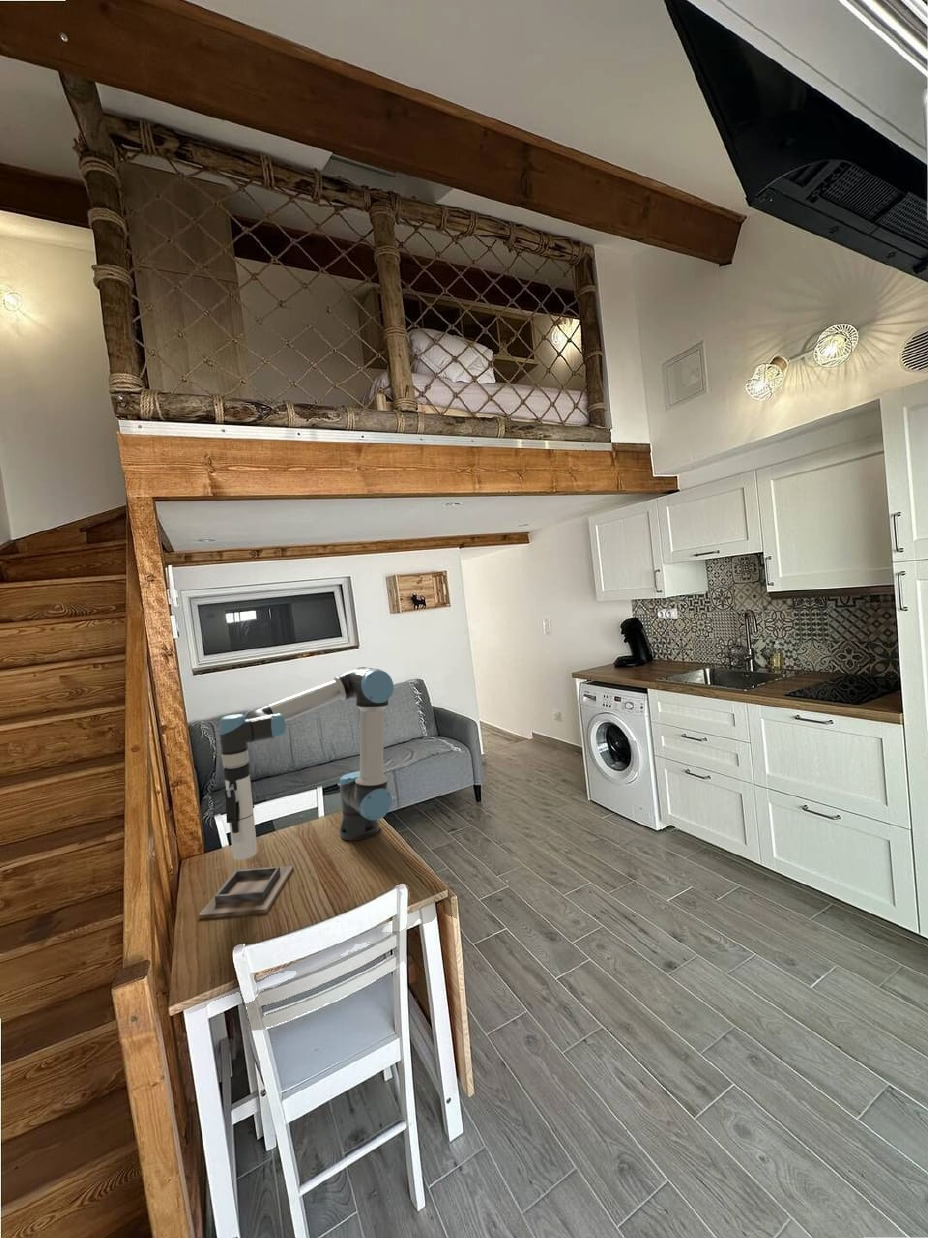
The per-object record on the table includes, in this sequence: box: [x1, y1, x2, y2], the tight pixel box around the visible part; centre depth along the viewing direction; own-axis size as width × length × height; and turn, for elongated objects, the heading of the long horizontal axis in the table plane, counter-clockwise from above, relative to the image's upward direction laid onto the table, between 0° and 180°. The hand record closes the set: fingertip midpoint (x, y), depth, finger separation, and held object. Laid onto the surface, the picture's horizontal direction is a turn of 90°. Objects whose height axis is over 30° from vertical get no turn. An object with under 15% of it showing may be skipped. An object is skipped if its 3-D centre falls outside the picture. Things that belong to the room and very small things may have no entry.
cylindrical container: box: [224, 773, 258, 861], centre depth 159 cm, size 7×7×25 cm
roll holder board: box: [198, 865, 294, 920], centre depth 160 cm, size 20×24×4 cm
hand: (243, 835), depth 160 cm, fingers closed on cylindrical container, 7 cm apart
